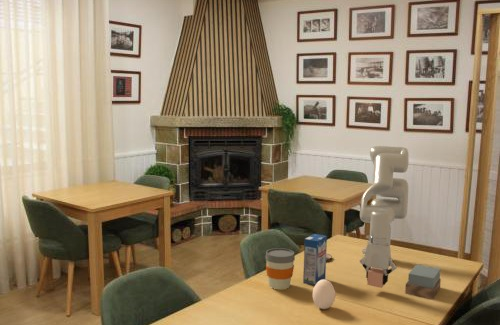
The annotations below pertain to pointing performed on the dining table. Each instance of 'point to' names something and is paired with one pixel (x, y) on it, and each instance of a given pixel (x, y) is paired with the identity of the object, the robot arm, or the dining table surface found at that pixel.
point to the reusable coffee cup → (279, 267)
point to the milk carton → (314, 258)
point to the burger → (328, 257)
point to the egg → (323, 294)
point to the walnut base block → (422, 290)
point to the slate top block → (424, 276)
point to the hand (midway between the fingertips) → (376, 281)
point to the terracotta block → (375, 277)
